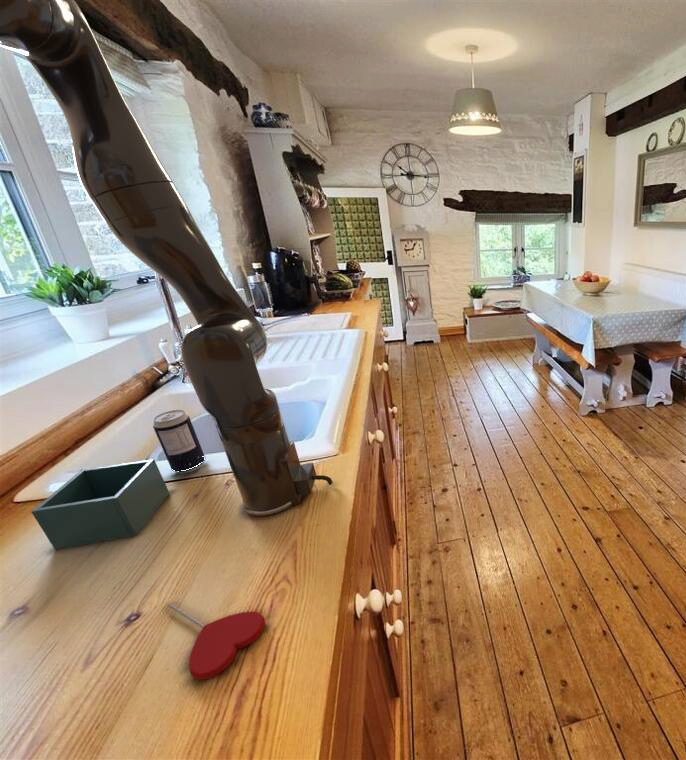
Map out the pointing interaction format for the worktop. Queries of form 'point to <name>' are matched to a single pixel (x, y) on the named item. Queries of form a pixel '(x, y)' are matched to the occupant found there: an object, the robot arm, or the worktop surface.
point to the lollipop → (221, 641)
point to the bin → (102, 504)
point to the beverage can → (178, 440)
